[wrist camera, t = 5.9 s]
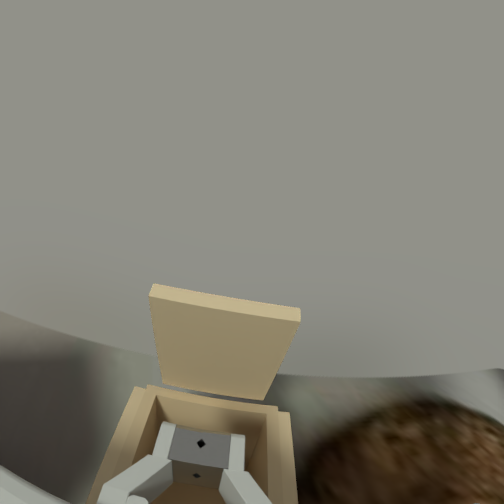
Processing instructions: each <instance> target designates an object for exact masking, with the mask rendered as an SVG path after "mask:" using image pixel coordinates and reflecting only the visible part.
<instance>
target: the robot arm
mask: <svg viewBox="0 0 504 504" xmlns="http://www.w3.org/2000/svg"><path fill="white" fill-rule="evenodd" d="M244 463H245V435H240V434H231V433H226V432H218V431H211V430H205V429H204V430H202V429H197V428H192V427H187V426H183V425H178V424H174V423H169V422H165V421H163V423H162V424H161V427H160V430H159V434H158V437H157V440H156V444H155V447H154V450H153V454H152V455H149V454H148V455H147V456H145V457H144V458H142V459H141V460H140V461H138V462H137V463H135V464H134V465H132V466H131V467H129V468H128V469H126V470H125V471H123V472H122V473H120V474H119V475H117V476H116V477H114V478H113V479H111V480H109V481H108V482H106V483H105V484H103V487H102V490H101V492H100V495H99V498H98V501H97V503H96V504H150V503H151V502H152V501H153V500H154V499H156V498H157V497H158V496H159V495H160V494H161V493H162V492H163V491H165V490H166V489H167V488H168V487H169V486H170V485H171V484H172V483H173V482H178V483H183V484H190V485H196V486H201V487H207V488H213V489H219V492H220V494H221V496H222V497H223V499H224V501H225V503H226V504H272V503H271V501H270V500H269V499H268V497H267V496H266V495H265V494H264V492H263V491H262V490H261V488H260V487H259V486H258V484H257V483H256V482H255V480H254V479H253V478H252V476H251V475H250V473H249V472H247V471H244ZM0 504H71V503H69V502H67V501H65V500H62V499H60V498H58V497H56V496H54V495H52V494H50V493H48V492H46V491H44V490H42V489H40V488H38V487H37V486H35V485H33V484H31V483H29V482H28V481H26V480H24V479H22V478H21V477H19V476H17V475H16V474H14V473H12V472H11V471H9V470H8V469H6V468H5V467H3V466H2V465H0ZM474 504H479V503H474Z"/></svg>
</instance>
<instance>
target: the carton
mask: <svg viewBox="0 0 504 504" xmlns="http://www.w3.org/2000/svg"><path fill="white" fill-rule="evenodd" d="M163 421H165V422H169V423H174V424H178V425H183V426H187V427H192V428H197V429H202V430H204V429H205V430H211V431H218V432H226V433H231V434H240V435H245V463H244V471H247V472H249V473H250V475H251V476H252V478H253V479H254V480H255V482H256V483H257V484H258V486H259V487H260V488H261V490H262V491H263V492H264V494H265V495H266V496H267V497H268V499H269V500H270V501H271V503H272V504H298V496H297V485H296V474H295V463H294V453H293V442H292V432H291V422H290V413H289V412H279V411H278V406H270V405H260V404H252V403H244V402H237V401H230V400H223V399H217V398H211V397H205V396H200V395H194V394H189V393H184V392H179V391H175V390H170V389H165V388H161V387H157V386H153V385H149V384H148V385H147V388H146V389H144V388H140V387H136V386H135V387H134V390H133V392H132V394H131V396H130V398H129V401H128V403H127V405H126V407H125V409H124V412H123V414H122V416H121V419H120V421H119V423H118V425H117V428H116V430H115V432H114V435H113V437H112V439H111V442H110V444H109V446H108V449H107V451H106V454H105V456H104V458H103V461H102V463H101V466H100V468H99V471H98V473H97V476H96V478H95V481H94V483H93V486H92V488H91V491H90V493H89V496H88V499H87V501H86V504H96V503H97V501H98V498H99V495H100V492H101V490H102V487H103V484H105V483H106V482H108V481H109V480H111V479H113V478H114V477H116V476H117V475H119V474H120V473H122V472H123V471H125V470H126V469H128V468H129V467H131V466H132V465H134V464H135V463H137V462H138V461H140V460H141V459H142V458H144V457H145V456H147V455H148V454H149V455H152V454H153V450H154V447H155V444H156V440H157V437H158V434H159V430H160V427H161V424H162V423H163ZM150 504H226V503H225V501H224V499H223V497H222V496H221V494H220V492H219V489H213V488H207V487H201V486H196V485H190V484H183V483H178V482H173V483H172V484H171V485H170V486H169V487H168V488H167V489H166V490H165V491H163V492H162V493H161V494H160V495H159V496H158V497H157V498H156V499H154V500H153V501H152V502H151V503H150Z"/></svg>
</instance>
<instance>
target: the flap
mask: <svg viewBox="0 0 504 504" xmlns="http://www.w3.org/2000/svg"><path fill="white" fill-rule="evenodd" d="M149 303H150V310H151V318H152V324H153V331H154V336H155V343H156V348H157V354H158V360H159V365H160V370H161V375H162V380H163V384H167V385H172V386H176V387H181V388H186V389H191V390H196V391H202V392H207V393H213V394H219V395H225V396H232V397H239V398H247V399H255V400H264V398H265V396H266V394H267V392H268V390H269V388H270V386H271V384H272V382H273V380H274V378H275V376H276V374H277V372H278V370H279V367H280V365H281V363H282V361H283V359H284V357H285V355H286V353H287V350H288V348H289V346H290V344H291V342H292V340H293V337H294V335H295V333H296V331H297V329H298V327H299V325H300V322H301V317H300V308H295V307H287V306H281V305H274V304H268V303H261V302H255V301H249V300H242V299H237V298H231V297H224V296H219V295H213V294H207V293H202V292H196V291H191V290H185V289H180V288H175V287H170V286H164V285H160V284H155V283H154V284H153V287H152V289H151V291H150V293H149Z"/></svg>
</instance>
